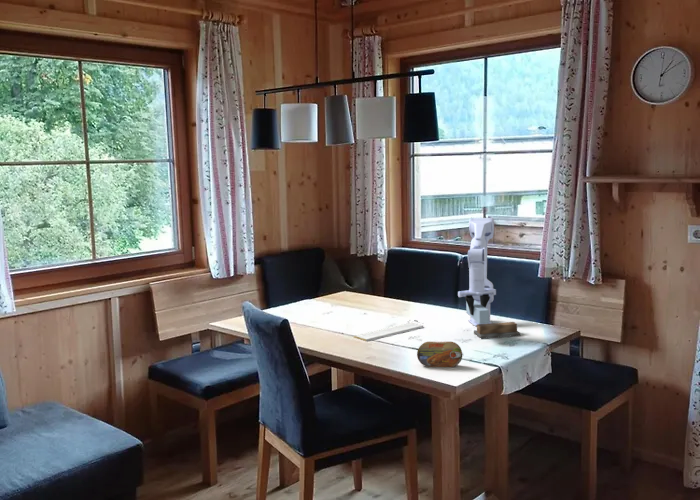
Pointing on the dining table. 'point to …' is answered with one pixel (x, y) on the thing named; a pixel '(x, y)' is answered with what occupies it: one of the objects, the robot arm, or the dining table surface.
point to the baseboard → (388, 331)
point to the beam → (479, 313)
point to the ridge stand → (497, 330)
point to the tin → (439, 354)
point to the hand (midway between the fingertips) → (477, 314)
